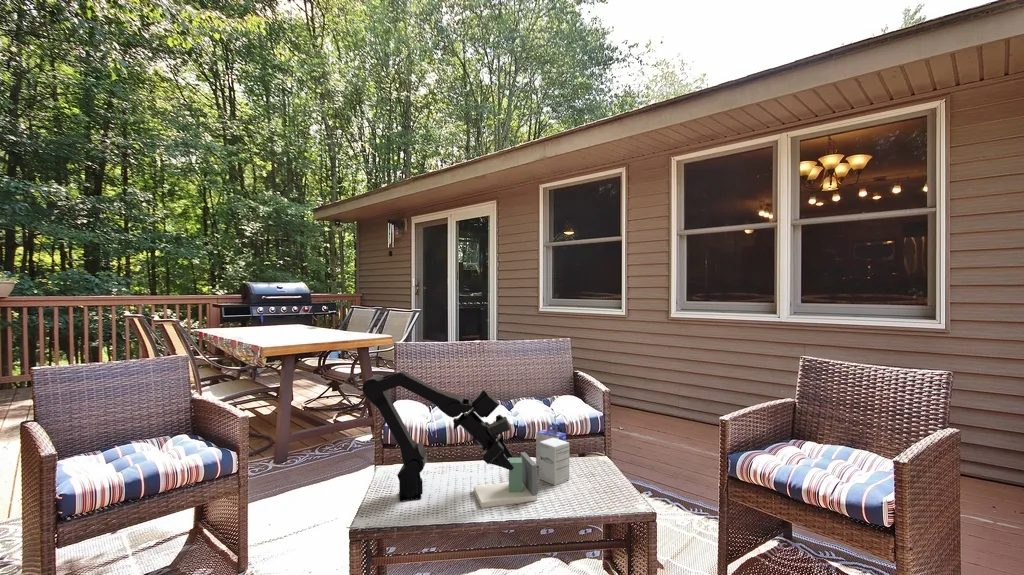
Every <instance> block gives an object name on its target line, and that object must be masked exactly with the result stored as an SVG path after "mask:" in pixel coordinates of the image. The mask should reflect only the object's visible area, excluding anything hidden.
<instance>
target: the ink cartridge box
mask: <svg viewBox="0 0 1024 575" xmlns="http://www.w3.org/2000/svg"><path fill="white" fill-rule="evenodd" d="M552 428H553V429H552ZM557 430H558V425H555V424H548V428H547V429H542V430H539V431H537V432H535V434H536V436H535V437H536V441H535V442H536V445H535V447H536V448H535V449H536V450H535V453H536V454H535V459H536V460H535V464H536V465H537V467H539V466H540V442H541V441H544V440H547V439H550V438H556V439H559V440H563V441H566V442H567V433H564V432H561V431H557Z"/></svg>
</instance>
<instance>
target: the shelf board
mask: <svg viewBox="0 0 1024 575" xmlns="http://www.w3.org/2000/svg"><path fill="white" fill-rule="evenodd" d="M520 457H521V458H522V492H511V493H509V481H506V482H497V483H489V484H482V485H480V484H479V485H474V486H473V492H474V495H475V497H476V499H477V501H478V503H479V505H480V508H482V509H483V508H491V507H492V508H493V507H497V506H506V505H511V504H513V505H514V504H521V503H527V502H535V501H538V466H537V465H536V462H535V461H534V460H533V459H532V458H531V456H529V455H528V453H527V452H524V451H523V452H520Z"/></svg>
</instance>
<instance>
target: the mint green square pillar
mask: <svg viewBox="0 0 1024 575" xmlns="http://www.w3.org/2000/svg"><path fill="white" fill-rule="evenodd" d="M508 460H509V461H510V463H511V464H512V466H513V467H514V468H513V470H509V469H508V482H509V493H511V492H522V458H521V456H520V457H513V458H508Z"/></svg>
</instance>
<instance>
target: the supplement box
mask: <svg viewBox="0 0 1024 575" xmlns="http://www.w3.org/2000/svg"><path fill="white" fill-rule="evenodd" d="M539 480H541V481H544V482H546V483H548V484H551V485H553V486H557V485H560V484H563V483H566V482H567V480H568V481H570V442H569V441H567V440H566V441H563V440H559V439H556V438H550V439H547V440H544V441H541V442H540V467H539ZM565 481H566V482H565ZM562 482H563V483H562Z"/></svg>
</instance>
